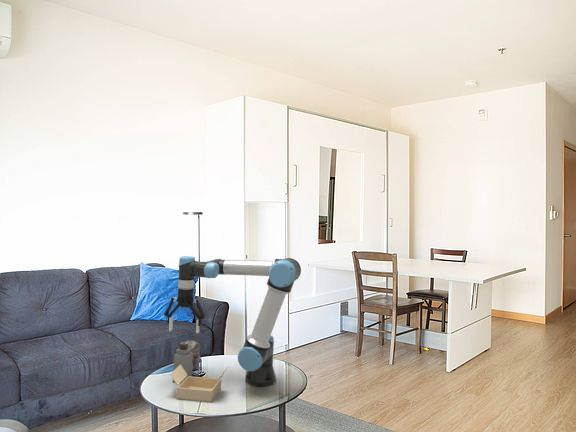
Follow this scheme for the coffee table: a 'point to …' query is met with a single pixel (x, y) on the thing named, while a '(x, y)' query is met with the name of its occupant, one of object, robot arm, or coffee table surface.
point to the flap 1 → (178, 374)
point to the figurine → (194, 353)
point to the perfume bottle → (183, 359)
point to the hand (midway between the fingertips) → (184, 331)
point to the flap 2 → (219, 378)
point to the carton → (198, 389)
